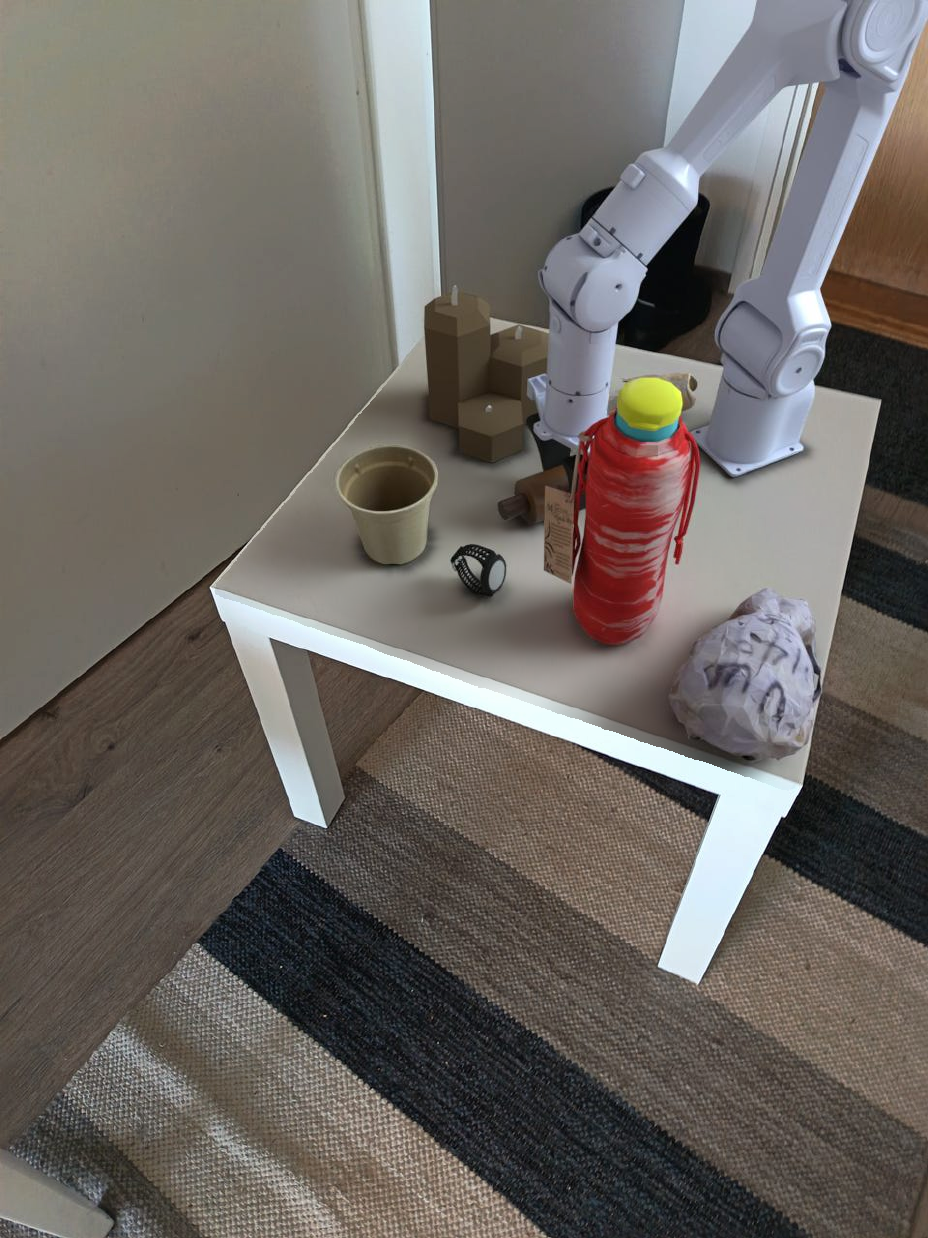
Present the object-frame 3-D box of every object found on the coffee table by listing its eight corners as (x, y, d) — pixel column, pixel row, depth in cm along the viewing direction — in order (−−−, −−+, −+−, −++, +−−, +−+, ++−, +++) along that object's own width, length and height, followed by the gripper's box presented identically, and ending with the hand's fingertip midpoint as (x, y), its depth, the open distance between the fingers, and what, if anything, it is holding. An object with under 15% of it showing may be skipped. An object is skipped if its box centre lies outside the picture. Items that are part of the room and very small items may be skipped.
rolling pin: (617, 466, 91) (622, 432, 88) (641, 492, 89) (648, 458, 85) (490, 513, 87) (490, 479, 84) (512, 542, 85) (513, 508, 81)
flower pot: (330, 564, 83) (316, 498, 77) (372, 501, 89) (362, 434, 82) (419, 589, 81) (412, 523, 74) (456, 523, 86) (453, 456, 80)
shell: (626, 423, 96) (620, 382, 94) (628, 415, 100) (623, 375, 98) (700, 411, 94) (695, 369, 92) (699, 402, 98) (695, 362, 96)
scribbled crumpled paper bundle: (744, 611, 80) (778, 529, 73) (863, 680, 75) (911, 599, 68) (626, 729, 70) (651, 647, 63) (753, 818, 65) (797, 739, 58)
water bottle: (520, 635, 77) (529, 407, 58) (543, 572, 82) (559, 341, 63) (653, 668, 75) (710, 440, 55) (669, 601, 79) (727, 369, 60)
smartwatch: (480, 613, 79) (479, 576, 75) (447, 580, 82) (445, 543, 78) (515, 592, 81) (516, 555, 77) (481, 560, 83) (481, 523, 79)
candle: (399, 431, 96) (386, 308, 84) (458, 367, 103) (454, 246, 92) (507, 468, 91) (510, 344, 80) (561, 398, 99) (571, 276, 87)
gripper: (500, 347, 79) (499, 461, 90) (583, 436, 71) (571, 550, 82) (566, 327, 81) (557, 440, 92) (654, 411, 73) (633, 525, 83)
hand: (567, 491), depth 87 cm, fingers closed on rolling pin, 4 cm apart
